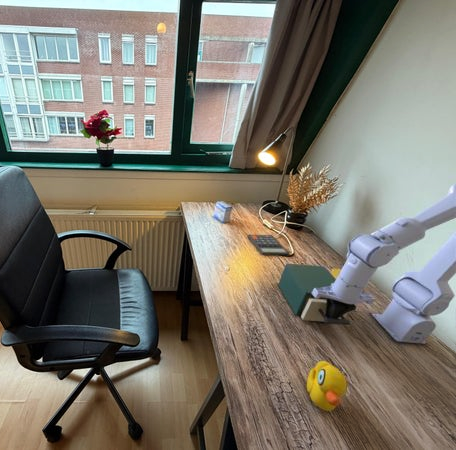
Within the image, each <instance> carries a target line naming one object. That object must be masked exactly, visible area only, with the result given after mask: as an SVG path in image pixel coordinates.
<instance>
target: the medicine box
mask: <svg viewBox="0 0 456 450" xmlns="http://www.w3.org/2000/svg"><path fill="white" fill-rule="evenodd" d="M232 211H233V206H232V205H230V204H228V203H227V202H225V201H223V200H221V201H216V203H215V207H214V213H213V218H215V219H216V220H217V221H219V222H221V223H223V224H224V223H225V224H226V223H230V220H231V216H232Z"/></svg>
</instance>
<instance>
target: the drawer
mask: <svg viewBox="0 0 456 450" xmlns="http://www.w3.org/2000/svg"><path fill="white" fill-rule="evenodd" d="M326 306H327V303H326V298H321V297H320V298H319V299H315V297H314V296H313V295H308V296H307V298H306V300H305V302H304V304H303V306H302V309H301V312H302V315H301V316H300V318H301V320H303V321H312V322H313V321H314V322H323V323H325V324H331V325H341V326H342V325H343V326H344V325H345V326H350V324H351V321H350V319H348V318H347V316H348V315H349V313H350V312H348V313H345V314H344V315H342V316H341V317H339V318H338V319H336V318H327V317H326V315H325V314H326Z"/></svg>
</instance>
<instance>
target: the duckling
mask: <svg viewBox="0 0 456 450" xmlns="http://www.w3.org/2000/svg"><path fill="white" fill-rule="evenodd" d="M347 389H348V382H347V378H346V377H345V374H344V373H342V371H340V370H339V369H338V368H337V367H336V366H334V365H332V363H330V362H329V361H326V360H321V361H319V362H318V363H317V364H316V365H315V367H312V368H311V369H310V371H309V373H308V376H307V381H306V391H307V393H308V394H309V397H310V399H311V401H312V403H313V404H314V405H315V406H316V407H318V408H319V409H321V410H323V411H325V412H332V411H333V410H335V408H336V407H338V406H339V405H340V398H342V397H343V396H344V395H345V394H346V392H347Z"/></svg>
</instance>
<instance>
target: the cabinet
mask: <svg viewBox="0 0 456 450" xmlns="http://www.w3.org/2000/svg"><path fill="white" fill-rule="evenodd" d="M281 273H282V274H281V275H280V278H279V281H278V287H279V289H280V290H281V292H282V294H283V296H284V297H285V299H286V301H287V303H288V305H289V306H290V308H291V309H292V312H293V313H294V314H295V316H300V317H301V315H302V312H301V309H302V306H303V304H304V302H305V300H306V298H307V296H308V295H313V294H312V291H313V289H314V288H323V287H328V286H331V284H332V283H334V282H335V281H336V279H335V278H334V277H333V276H332V274H331V271H329V270H328V269H327V268H326V266H323V265H310V264H300V263H299V264H298V263H285V265H284V267H283V270H282V272H281Z"/></svg>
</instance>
